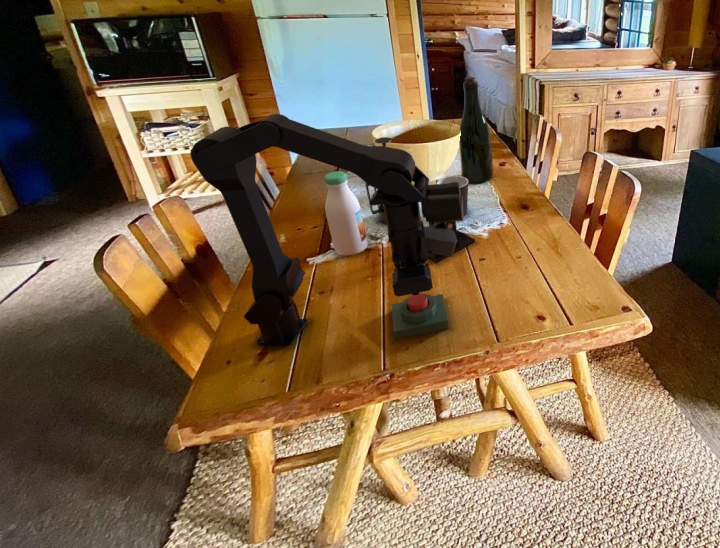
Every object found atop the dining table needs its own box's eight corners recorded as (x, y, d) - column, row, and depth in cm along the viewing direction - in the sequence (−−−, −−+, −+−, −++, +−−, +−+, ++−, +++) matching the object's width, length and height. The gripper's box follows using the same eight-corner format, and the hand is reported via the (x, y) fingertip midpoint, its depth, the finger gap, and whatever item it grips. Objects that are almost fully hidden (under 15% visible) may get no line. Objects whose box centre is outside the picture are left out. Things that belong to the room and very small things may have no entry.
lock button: (409, 314, 83) (407, 307, 82) (408, 302, 86) (406, 295, 85) (428, 310, 84) (427, 302, 83) (426, 298, 87) (425, 291, 86)
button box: (394, 340, 82) (391, 324, 80) (393, 312, 88) (390, 297, 87) (449, 328, 84) (446, 312, 83) (443, 302, 91) (441, 286, 89)
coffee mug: (474, 218, 122) (471, 186, 118) (443, 224, 119) (439, 191, 115) (464, 200, 132) (462, 170, 127) (436, 205, 129) (432, 174, 125)
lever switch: (436, 264, 103) (432, 232, 99) (414, 250, 108) (409, 219, 104) (475, 243, 111) (472, 212, 107) (452, 231, 116) (449, 201, 112)
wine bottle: (466, 186, 141) (457, 82, 126) (458, 174, 149) (448, 75, 134) (497, 180, 145) (492, 79, 130) (488, 169, 153) (481, 72, 138)
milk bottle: (357, 258, 105) (339, 183, 96) (328, 255, 107) (308, 180, 98) (374, 241, 112) (359, 169, 103) (347, 238, 113) (330, 166, 104)
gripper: (458, 242, 71) (466, 317, 78) (444, 193, 86) (451, 259, 93) (386, 255, 68) (401, 331, 75) (385, 201, 83) (397, 268, 90)
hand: (416, 293), depth 83 cm, fingers closed
